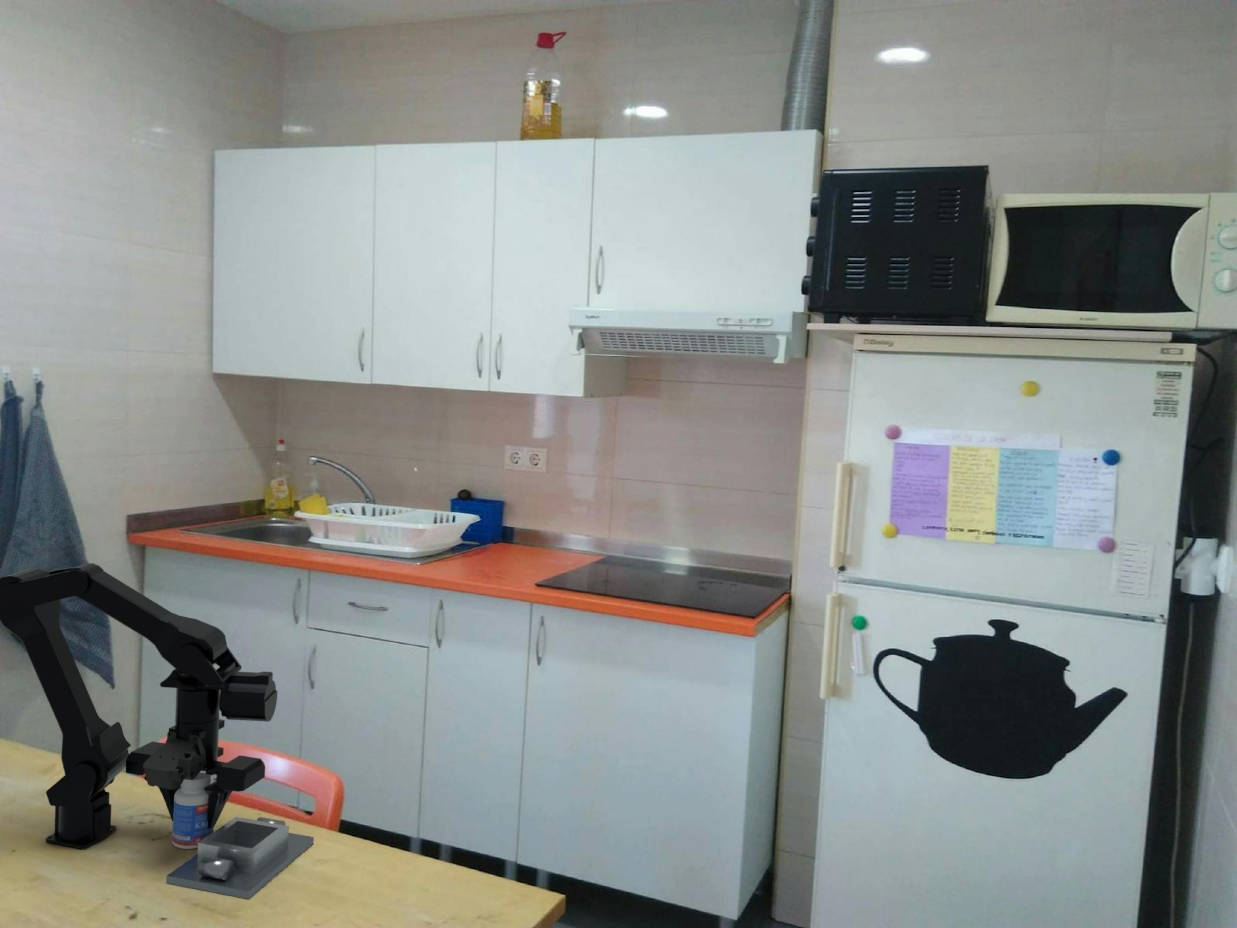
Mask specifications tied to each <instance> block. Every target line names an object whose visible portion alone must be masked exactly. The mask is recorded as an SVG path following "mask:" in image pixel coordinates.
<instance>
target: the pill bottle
mask: <svg viewBox="0 0 1237 928" xmlns="http://www.w3.org/2000/svg"><path fill="white" fill-rule="evenodd" d="M210 784H212V775H208V774H202V773H199V774H198V775H197V776H196V777H195V778H194V779H193V780H188V779H184V781H183V783H182V784H181V785H180V786H181V788H180V789H178V790H177V791H176V793H175V795H174V812H173V821H172V835H171V837H172V841H171V842H172V845H174V847H176V848H178V849H184V850H192V849H198V843H199V842H200V841H202V840H203V839H204V838H206V837H207V836H209V835H210V834H212V833H213V832H214V831H215V830H214V827H215V826H214V827H212V828H208V820H207V817H208V794H207V793H206V792H205V791H204V788H205V787H207V786H208V785H210Z"/></svg>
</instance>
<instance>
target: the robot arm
mask: <svg viewBox="0 0 1237 928" xmlns="http://www.w3.org/2000/svg"><path fill="white" fill-rule="evenodd" d="M72 597H73V598H74V597H77V598H79V599H80V600H82V601H84V602H86V603H87V604H88V605H91V606H92V607H94V608H95V609H97V610H99V611H101V612H102V613H104V614H105V615H107V616H109V617H111V618H112V619H113V620H116V621H117V622H119V623H120V624H121V625H123V626H125V627H127V628H128V629H130V630H132V631H134V632H135V633H136V634H138V635H140V636H142V637H144V638H145V639H147V641H149V642H150V643H152V645H154V648H156V650H157V651H158V653H159V656H161V657H162V658H163V659H164V660H165V661H166V662H167V663H168V664H169V665H171V667H173V668H174V669H173V670H172V671H171V673H170V674H169V675H168V676H167V677H166V678H165V679H163V680H162V681H161V682H160V683H159V686H160V688H168V689H169V688H170V689H175V711H174V712H175V713H174V714H175V718H174V725H173V726H171V727H169V728H168V732H167V734H166V735H167V736H166V741H165V743H164V742H160V741H159V742H158V741H153V740H152V741H151V742H148V743H146V744H144V745H143V746H140V747H138V748H136V749H134V750H132V751H131V752H130V753H129V748H131V747H132V745H131V743H130V742H129V741H128V740H127V738H126V737H125V734H124V731H123V726H122V724H121V723H120V722H119V721H116V722H114V723H113V724H111V725H110V724H108V723H107V722H106V721H105V720H103V719H102V718H101V717H100V716H99V714H98V713H97V709H96V707H95V706H94V703H93V700H92V698H91V695H90V693H89V691H88V689H87V687H86V685H85V682H84V679H83V677H82V675H81V672H80V671H79V668H78V666H77V663H76V661H75V659H74V656H73V654H72V652H71V650H70V647H69V645H68V641H66V638H65V636H64V633H63V631H62V629H61V625H60V617H61V600H65V599H67V598H72ZM0 623H1V625H2V626H3V627H4V628H6V630H8V631H9V632H11V633H12V634H13V635H15V637H17V638H18V639H19V640H20V641H21V642H22V645H23V647H24V650H25V651H26V653H27V656H28V658H29V661H30V663H31V665H32V667H33V670H34V672H35V674H36V676H37V678H38V679H37V680H38V681H39V685H41V688H42V690H43V692H44V694H45V697H46V699H47V701H48V703H49V706H50V708H51V710H52V713H53V716H54V718H55V720H56V722H57V725H58V727H59V730H60V731H61V736H62V737H61V738H62V739H61V754H60V755H61V756H60V760H61V763H62V768H63V772H64V775H63V776H62V777H61V778H60V779H58V780H57V781H56V782H55V783H54V784H53V785H52V786H50V787H49V788H48V789H47V790H46V792H45V795H46V797H47V799H48V803H49V805H50V807H51V806H52V807H54V833H51V834H50V835H48V836H46V838H45V842H46V843H49V844H55V845H59V846H61V845H62V846H66V847H71V848H77V849H86V848H89V847H90V846H92V845H93V844H95V843H97V842H99V841H100V840H102V839H103V838H105V837H107V836H108V835H111V834H112V833H113V832H114V833H115V831H116V830H117V825H112V804H111V803H110V791H106V788H107V787H108V786H109V785H111V784H112V783H114V781H115V778H116V777H117V776H119V774H120V773H122V771H123V770H124V769H125V773H126V774H131V775H137V776H144V775H145V776H144V778H143V779H144V780H145V781H146V783H147V785H148V786H149V787H157V788H158V789H159V791H160V793H161V796H162V797H163V800H164V802H165V806H166V808H167V810H168V811H167V812H168V814H169V815H170V818H171V821H172V822H173V812H174V795H175V793H176V791H177V790H178V789H180V788H181V786H180V785H181V784H182V783H183V781H184V779H188V780H193V779H194V778H195V777H196V776H197V775H198V774H199V773H202V774H208V775H211V776H213V779H212V782H211V783H210V785H208V786H207V787H205V788H204V791H205V792H206V793H207V794H208V817H207V820H208V828H212V827H215V826H216V824H217V822H218V821H219V818H220V816H221V813H222V812H223V811H224V808H225V806H226V804H227V802H228V800H229V798H230V796H231V794H232V792H244V791H246V790H247V789H249V788H250V787H252V786H254V785H255V784H256V783H258V782H259V781H261V780H262V779H264V778H265V777H266V764H265V762H264V761H263V760H262V758H258V757H253V756H252V757H251V756H246V755H240V754H239V755H238V756H236V757H234V758H233V759H231V760H229V761H228V762H225V761H220V760H219V758H220V757H221V756H224V749H225V748H224V747H220V746H219V736H220V735H219V733H220V731H219V730H221V729H223V728H225V722H226V721H225V719H221V718H220V714H221V717H225V718H226V720H228V721H246V722H247V721H248V722H267V723H268V722H271V721H272V720H273V719H272V718H273V717H274V715H275V712H276V707H277V701H278V690H277V689H276V688H277V685H276V682H275V680H273V678H274V676H273V675H274V673H273V672H272V671H258V672H254V671H253V672H250V671H241V670H242V665H241V664H240V662H239V661H238V659H237V658H236V657H235V656H234V654H233V653H232V651H231V650H230V648H229V647H228V644H227V639H226V635H225V633H224V632H223V631H222V630H221V629H220V628H218V627H216V626H214V625H211V624H210V623H207V622H204V621H202V620H200V619H197V618H193V617H188V616H183V615H178V614H177V613H174V612H172V611H170V610H168V609H167V608H165V607H163V606H162V605H160V604H158V603H157V602H155V601H153V600H152V599H150V598H149V597H148V596H145V595H143V594H142V593H140V592H139V591H137V590H135V589H134V588H133V587H131V586H129V585H128V584H126V583H124V582H123V581H121V580H119V578H118V579H117V578H116V577H115V576H113V575H111V574H109V573H108V572H106V571H104V569H103V567H101V566H100V565H99V564H96V563H93V562H87V563H83V564H81V565H79V566H71V567H66V568H59V569H54V570H51V571H46V570H43V569H41V568H37V567H32V568H26V569H23V570H20V571H17V572H15V573H11V574H9V575H6V576H3V577H0ZM215 665H217V666H218V668H217V669H216V668H215V667H214V666H215ZM218 760H219V761H218Z"/></svg>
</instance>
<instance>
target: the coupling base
mask: <svg viewBox="0 0 1237 928" xmlns="http://www.w3.org/2000/svg"><path fill="white" fill-rule="evenodd" d="M314 841H315V837H314V836H310V835H304V834H298V833H292V832H290V825H286V822H285V820H280V819H276V818H275V819H274V818H270V817H269V818H267V817H263V816H260V817H258V818H257V819H256V820H255V819H250V818H244V817H238V816H235V817H233V818H232V819H230V820H229V821H227V822H226V823H224V824H223V825H222V826H220V827H219V828H218V829H216V830H214V832H213V833H212V834H210V835H209V836H207V837H206V838H204V839H203V840H202V841H200V842H199V843H198V848H197V854H195V855H193V856H192V857H190V859H188V860H187V861H184V863H182V864H181V865H179V866H178V867H177V868H176V869H174V870H173V871H171V872H170V873H168V874H167V875H166V879H165V880H166V882H165V883H166V884H168V885H174V886H179V887H184V888H188V889H195V890H199V891H205V892H209V893H214V894H215V893H216V894H220V895H221V894H222V895H227V896H231V897H236V898H241V899H247V900H249V899H251V898H252V897H253V896H254V895H256V894H257V893H258V892H259V891H260V890H261V889H263V888H264V887H265V886H266V885H267V884H269V882H270V881H272V879H274V878H275V877H276V876H277V875H279V874H280V873H281V872H282V871H283V870H285V869H286V868H287V867H288V866H289V865H290V864H292V863H293V862H294V861H295V860H296V859H298V857H300V856H301V855H302V854H303V853H304V852H306V851H307V850H308V849H310V847H312V846H313V845H314Z"/></svg>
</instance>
